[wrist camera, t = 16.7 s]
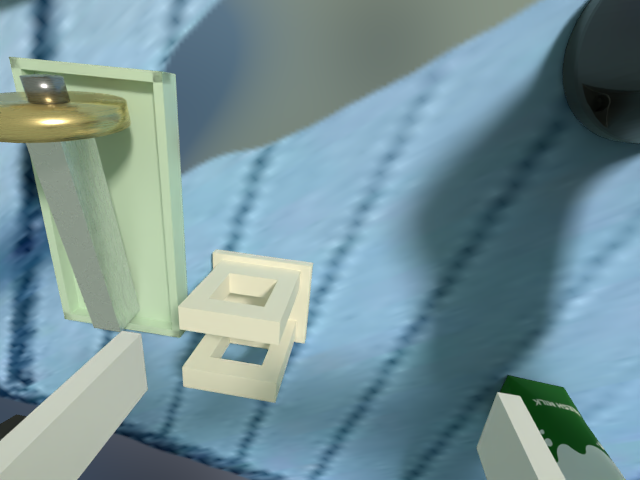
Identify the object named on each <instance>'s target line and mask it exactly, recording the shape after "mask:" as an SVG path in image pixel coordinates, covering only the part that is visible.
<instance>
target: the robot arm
mask: <svg viewBox="0 0 640 480" xmlns="http://www.w3.org/2000/svg"><path fill="white" fill-rule="evenodd" d="M563 86H564V92H565V96H566V99H567V102H568V104H569V106H570V109H571V110H572V112H573V114H574V115H575V116H576V118H577V119H578V120H579V121H580V122H581V123H582V124H583V125H584V126H585V127H586V128H587V129H589V130H590V131H592V132H593V133H595V134H597V135H599V136H601V137H604V138H607V139H610V140H614V141H619V142H627V143H636V144H640V0H591V1H590V2H589V3H588V5H587V6H586V8H585V9H584V11H583V12H582V14H581V15H580V17H579V19H578V21H577V23H576V25H575V27H574V29H573V31H572V33H571V36H570V38H569V41H568V44H567V48H566V52H565V56H564V63H563ZM147 390H148V388H147V379H146V371H145V363H144V354H143V346H142V337H141V334H139V333H133V332H127V331H121V332H120V333H119V334H118V335H117V336H116V337H115V338H114V339H112V340H111V341H110V342H109V343H108V344H107V345H106V346H105V347H104V348H102V349H101V350H100V351H99V352H98V353H97V354H96V355H95V356H94V357H92V358H91V359H90V360H89V361H88V362H87V363H86V364H85V365H84V366H83V367H81V368H80V369H79V370H78V371H77V372H76V373H75V374H74V375H73V376H71V377H70V378H69V379H68V380H67V381H66V382H65V383H64V384H63V385H61V386H60V387H59V388H58V389H57V390H56V391H55V392H54V393H53V394H52V395H50V396H49V397H48V398H47V399H46V400H45V401H44V402H43V403H42V404H40V405H39V406H38V407H37V408H36V409H35V410H34V411H33V412H32V413H31V414H30V415H28V416H27V417H26V416H21V415H15V416H13V417H12V418H10V419H8V420H6V421H5V422H3V423H1V424H0V480H77V479H78V478H79V477H80V475H81V474H82V473H83V472H84V470H85V469H86V468H87V467H88V465H89V464H90V463H91V461H92V460H93V459H94V458H95V456H96V455H97V454H98V452H99V451H100V450H101V449H102V447H103V446H104V445H105V443H106V442H107V441H108V440H109V438H110V437H111V436H112V435H113V433H114V432H115V431H116V429H117V428H118V427H119V426H120V424H121V423H122V422H123V420H124V419H125V418H126V417H127V415H128V414H129V413H130V411H131V410H132V409H133V408H134V406H135V405H136V404H137V403H138V401H139V400H140V399H141V397H142V396H143V395H144V394H145V392H146V391H147ZM477 451H478V454H479V457H480V460H481V463H482V466H483V469H484V472H485V475H486V478H487V480H566V479H565V477H564V475H563V474H562V472H561V470H560V468H559V466H558V465H557V463H556V461H555V459H554V457H553V455H552V454H551V452H550V450H549V448H548V446H547V444H546V443H545V441H544V439H543V437H542V435H541V433H540V432H539V430H538V428H537V426H536V424H535V422H534V421H533V419H532V417H531V415H530V413H529V411H528V410H527V408H526V406H525V404H524V402H523V400H522V399H521V397H520V396H517V395H511V394H505V393H499V392H497V394H496V397H495V400H494V402H493V405H492V408H491V410H490V413H489V416H488V418H487V421H486V424H485V426H484V429H483V432H482V434H481V437H480V440H479V442H478V445H477Z"/></svg>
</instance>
